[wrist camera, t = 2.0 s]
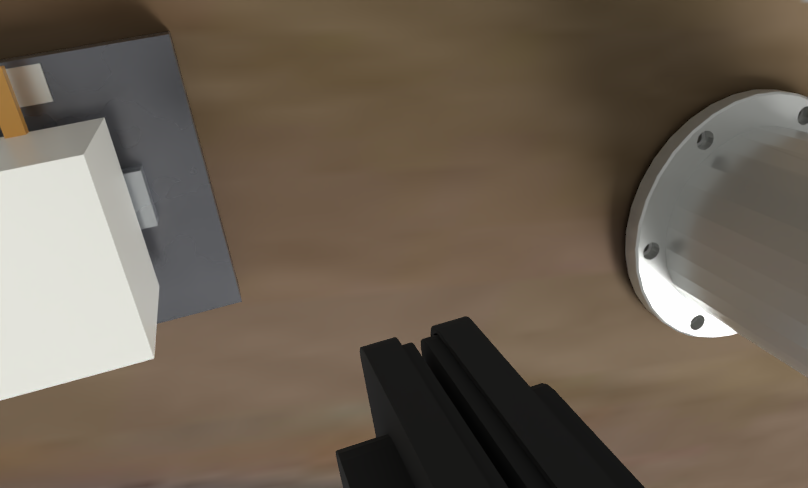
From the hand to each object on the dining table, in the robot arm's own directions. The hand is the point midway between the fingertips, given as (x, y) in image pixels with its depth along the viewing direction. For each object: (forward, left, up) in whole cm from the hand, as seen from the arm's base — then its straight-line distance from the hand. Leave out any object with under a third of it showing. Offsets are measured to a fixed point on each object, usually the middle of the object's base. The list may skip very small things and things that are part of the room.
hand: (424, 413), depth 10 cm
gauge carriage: (+8, -1, -15) cm, 17 cm away
